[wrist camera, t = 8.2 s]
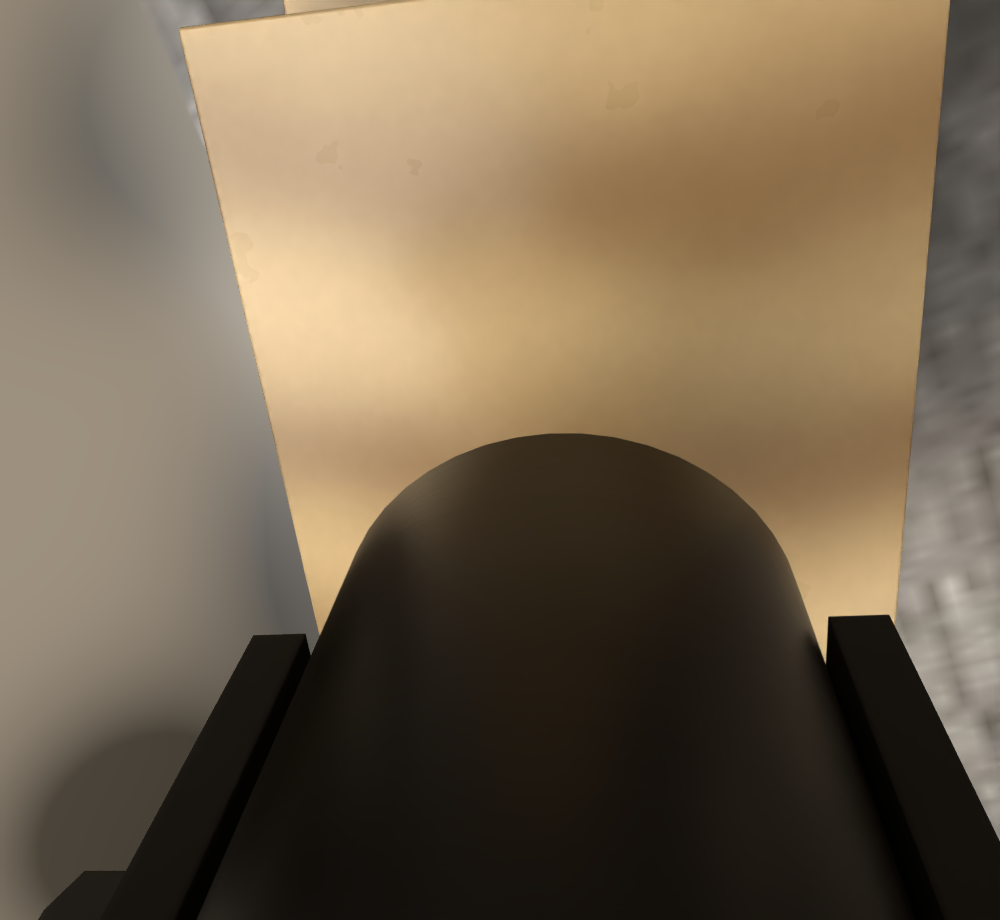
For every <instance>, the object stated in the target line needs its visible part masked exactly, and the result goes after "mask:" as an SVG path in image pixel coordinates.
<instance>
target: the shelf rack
mask: <svg viewBox="0 0 1000 920" xmlns="http://www.w3.org/2000/svg"><path fill="white" fill-rule="evenodd" d="M283 2H284V7H285V13H286V14H285V15H277V16H269V17H261V18H253V19H245V20H237V21H229V22H221V23H213V24H205V25H197V26H189V27H181V28H180V29H179V34H180V38H181V43H182V47H183V51H184V55H185V60H186V64H187V68H188V73H189V77H190V81H191V86H192V90H193V94H194V98H195V103H196V107H197V111H198V116H199V120H200V124H201V128H202V133H203V137H204V141H205V146H206V150H207V154H208V158H209V163H210V167H211V171H212V176H213V180H214V184H215V188H216V193H217V197H218V201H219V206H220V210H221V214H222V218H223V223H224V227H225V231H226V236H227V240H228V244H229V249H230V253H231V257H232V261H233V265H234V270H235V274H236V279H237V283H238V287H239V292H240V296H241V300H242V304H243V309H244V313H245V317H246V321H247V326H248V330H249V335H250V339H251V343H252V347H253V351H254V356H255V360H256V365H257V368H258V373H259V377H260V381H261V386H262V390H263V395H264V399H265V403H266V407H267V412H268V416H269V420H270V425H271V429H272V433H273V438H274V442H275V446H276V450H277V455H278V459H279V463H280V468H281V472H282V476H283V480H284V485H285V489H286V493H287V498H288V502H289V506H290V511H291V515H292V519H293V523H294V527H295V532H296V536H297V540H298V545H299V549H300V553H301V557H302V562H303V566H304V571H305V575H306V579H307V583H308V587H309V592H310V596H311V601H312V605H313V609H314V614H315V618H316V622H317V626H318V631H319V635H320V634H321V632H322V630H323V627H324V625H325V623H326V620H327V618H328V616H329V613H330V611H331V609H332V607H333V604H334V602H335V600H336V597H337V595H338V593H339V590H340V588H341V586H342V584H343V581H344V579H345V577H346V574H347V572H348V570H349V567H350V565H351V563H352V561H353V558H354V556H355V554H356V551H357V550H358V548H359V546H360V544H361V542H362V540H363V539H364V537H365V535H366V533H367V531H368V529H369V528H370V527H371V525H372V524H373V523H374V521H375V520H376V519H377V517H378V516H379V515H380V514H381V512H382V511H383V510H384V508H385V507H386V506H387V505H388V504H389V503H390V502H391V501H392V500H393V499H394V498H395V497H396V496H397V495H398V494H399V493H401V492H402V491H403V490H404V489H405V488H406V487H407V486H409V485H410V484H411V483H413V482H414V481H415V480H417V479H418V478H420V477H421V476H422V475H424V474H425V473H426V472H428V471H429V470H431V469H433V468H435V467H437V466H438V465H440V464H442V463H444V462H446V461H448V460H450V459H451V458H453V457H455V456H458V455H460V454H463V453H465V452H468V451H471V450H473V449H476V448H478V447H481V446H484V445H487V444H491V443H495V442H499V441H503V440H507V439H511V438H516V437H523V436H531V435H539V434H548V433H584V434H592V435H601V436H609V437H616V438H620V439H624V440H629V441H633V442H637V443H641V444H645V445H649V446H651V447H654V448H657V449H659V450H662V451H665V452H667V453H670V454H672V455H675V456H678V457H680V458H682V459H684V460H686V461H688V462H689V463H691V464H693V465H695V466H697V467H699V468H701V469H703V470H705V471H706V472H708V473H710V474H711V475H712V476H714V477H715V478H717V479H718V480H719V481H721V482H722V483H724V484H725V485H726V486H728V487H729V488H731V489H732V490H733V491H734V492H736V493H737V494H738V495H739V496H740V497H741V498H742V499H743V500H744V501H745V502H746V503H747V504H748V505H749V506H750V507H751V508H753V509H754V510H755V511H756V513H757V514H758V515H759V516H760V518H761V519H762V520H763V521H764V523H765V524H766V525H767V526H768V528H769V529H770V530H771V531H772V533H773V534H774V536H775V537H776V539H777V541H778V543H779V544H780V546H781V548H782V550H783V551H784V553H785V555H786V557H787V558H788V561H789V564H790V566H791V569H792V571H793V574H794V577H795V579H796V582H797V585H798V587H799V590H800V593H801V596H802V599H803V602H804V604H805V607H806V610H807V613H808V616H809V618H810V621H811V624H812V627H813V630H814V633H815V635H816V638H817V641H818V644H819V647H820V649H821V652H822V655H823V658H824V661H825V664H826V650H827V631H828V616H858V615H890V617H891V619H892V621H893V623H894V625H895V622H896V611H897V600H898V588H899V577H900V566H901V554H902V543H903V532H904V520H905V509H906V497H907V486H908V475H909V463H910V452H911V441H912V429H913V418H914V407H915V395H916V384H917V372H918V361H919V350H920V338H921V327H922V316H923V304H924V293H925V282H926V270H927V259H928V247H929V236H930V225H931V213H932V202H933V191H934V179H935V168H936V157H937V145H938V134H939V122H940V111H941V100H942V88H943V77H944V66H945V54H946V43H947V32H948V20H949V9H950V0H283Z"/></svg>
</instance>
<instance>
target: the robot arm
mask: <svg viewBox="0 0 1000 920" xmlns="http://www.w3.org/2000/svg"><path fill="white" fill-rule="evenodd" d="M310 657H311V655H310V651H309V647H308V643H307V639H306V634H283V635H254V636H253V637H252V639H251V641H250V643H249V644H248V646H247V648H246V650H245V652H244V654H243V656H242V658H241V659H240V661H239V663H238V665H237V667H236V669H235V671H234V672H233V674H232V676H231V678H230V680H229V682H228V683H227V685H226V687H225V689H224V691H223V693H222V695H221V696H220V698H219V700H218V702H217V704H216V705H215V707H214V709H213V711H212V713H211V715H210V717H209V718H208V720H207V722H206V724H205V726H204V728H203V730H202V731H201V733H200V735H199V737H198V739H197V741H196V743H195V744H194V746H193V748H192V750H191V752H190V754H189V756H188V757H187V759H186V761H185V763H184V765H183V767H182V768H181V770H180V772H179V774H178V776H177V778H176V779H175V782H174V783H173V785H172V787H171V789H170V791H169V793H168V794H167V796H166V798H165V800H164V802H163V804H162V806H161V807H160V809H159V811H158V813H157V815H156V816H155V818H154V820H153V822H152V824H151V826H150V828H149V829H148V831H147V833H146V835H145V837H144V839H143V840H142V843H141V844H140V846H139V848H138V850H137V852H136V854H135V856H134V857H133V859H132V861H131V863H130V865H129V867H128V868H127V870H126V871H84V872H83V873H82V874H81V875H80V876H79V877H78V878H77V879H76V880H75V881H74V882H73V883H72V884H71V885H70V886H69V887H67V888H66V889H65V890H64V891H63V892H62V893H61V894H60V895H59V896H58V897H57V898H56V899H55V900H54V901H53V902H52V903H51V904H50V905H49V906H48V907H47V908H46V909H45V910H44V911H43V913H42V914H41V916H40V918H39V919H38V920H196V919H197V917H198V915H199V912H200V910H201V908H202V905H203V903H204V901H205V898H206V896H207V894H208V892H209V889H210V887H211V885H212V882H213V880H214V878H215V875H216V873H217V871H218V869H219V866H220V864H221V862H222V859H223V857H224V855H225V853H226V850H227V848H228V846H229V843H230V841H231V839H232V836H233V834H234V832H235V830H236V827H237V825H238V823H239V820H240V818H241V816H242V813H243V811H244V809H245V807H246V804H247V802H248V800H249V797H250V795H251V793H252V790H253V788H254V786H255V784H256V781H257V779H258V777H259V774H260V772H261V770H262V767H263V765H264V763H265V761H266V758H267V756H268V754H269V751H270V749H271V747H272V744H273V742H274V740H275V738H276V735H277V733H278V731H279V728H280V726H281V724H282V721H283V719H284V717H285V715H286V712H287V710H288V708H289V705H290V703H291V701H292V698H293V696H294V694H295V692H296V689H297V687H298V685H299V682H300V680H301V678H302V675H303V673H304V671H305V669H306V666H307V664H308V662H309V659H310ZM826 666H827V669H828V672H829V675H830V678H831V680H832V683H833V686H834V689H835V692H836V695H837V697H838V700H839V703H840V706H841V709H842V711H843V714H844V717H845V720H846V723H847V726H848V728H849V731H850V734H851V737H852V740H853V742H854V745H855V748H856V751H857V754H858V757H859V759H860V762H861V765H862V768H863V771H864V773H865V776H866V779H867V782H868V785H869V788H870V790H871V793H872V796H873V799H874V802H875V804H876V807H877V810H878V813H879V816H880V819H881V821H882V824H883V827H884V830H885V833H886V835H887V838H888V841H889V844H890V847H891V850H892V852H893V855H894V858H895V861H896V864H897V866H898V869H899V872H900V875H901V878H902V880H903V883H904V886H905V889H906V892H907V895H908V897H909V900H910V903H911V906H912V909H913V911H914V914H915V917H916V920H1000V841H999V839H998V837H997V835H996V833H995V831H994V829H993V827H992V824H991V822H990V820H989V818H988V816H987V814H986V812H985V810H984V808H983V806H982V804H981V802H980V800H979V798H978V796H977V794H976V792H975V790H974V788H973V786H972V783H971V781H970V779H969V777H968V775H967V773H966V771H965V769H964V767H963V765H962V763H961V761H960V759H959V757H958V755H957V753H956V751H955V749H954V747H953V744H952V742H951V740H950V738H949V736H948V734H947V732H946V730H945V728H944V726H943V724H942V722H941V720H940V718H939V716H938V714H937V712H936V710H935V708H934V705H933V703H932V701H931V699H930V697H929V695H928V693H927V691H926V689H925V687H924V685H923V683H922V681H921V679H920V677H919V675H918V673H917V671H916V669H915V667H914V664H913V662H912V660H911V658H910V656H909V654H908V652H907V650H906V648H905V646H904V644H903V642H902V640H901V638H900V636H899V634H898V632H897V630H896V628H895V625H894V623H893V621H892V619H891V617H890V615H858V616H828V631H827V650H826Z"/></svg>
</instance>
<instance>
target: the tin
mask: <svg viewBox="0 0 1000 920" xmlns="http://www.w3.org/2000/svg"><path fill="white" fill-rule="evenodd" d="M196 920H916V917H915V914H914V911H913V909H912V906H911V903H910V900H909V897H908V895H907V892H906V889H905V886H904V883H903V880H902V878H901V875H900V872H899V869H898V866H897V864H896V861H895V858H894V855H893V852H892V850H891V847H890V844H889V841H888V838H887V835H886V833H885V830H884V827H883V824H882V821H881V819H880V816H879V813H878V810H877V807H876V804H875V802H874V799H873V796H872V793H871V790H870V788H869V785H868V782H867V779H866V776H865V773H864V771H863V768H862V765H861V762H860V759H859V757H858V754H857V751H856V748H855V745H854V742H853V740H852V737H851V734H850V731H849V728H848V726H847V723H846V720H845V717H844V714H843V711H842V709H841V706H840V703H839V700H838V697H837V695H836V692H835V689H834V686H833V683H832V680H831V678H830V675H829V672H828V669H827V666H826V664H825V661H824V658H823V655H822V652H821V649H820V647H819V644H818V641H817V638H816V635H815V633H814V630H813V627H812V624H811V621H810V618H809V616H808V613H807V610H806V607H805V604H804V602H803V599H802V596H801V593H800V590H799V587H798V585H797V582H796V579H795V577H794V574H793V571H792V569H791V566H790V564H789V561H788V558H787V557H786V555H785V553H784V551H783V550H782V548H781V546H780V544H779V543H778V541H777V539H776V537H775V536H774V534H773V533H772V531H771V530H770V529H769V528H768V526H767V525H766V524H765V523H764V521H763V520H762V519H761V518H760V516H759V515H758V514H757V513H756V511H755V510H754V509H753V508H751V507H750V506H749V505H748V504H747V503H746V502H745V501H744V500H743V499H742V498H741V497H740V496H739V495H738V494H737V493H736V492H734V491H733V490H732V489H731V488H729V487H728V486H726V485H725V484H724V483H722V482H721V481H719V480H718V479H717V478H715V477H714V476H712V475H711V474H710V473H708V472H706V471H705V470H703V469H701V468H699V467H697V466H695V465H693V464H691V463H689V462H688V461H686V460H684V459H682V458H680V457H678V456H675V455H672V454H670V453H667V452H665V451H662V450H659V449H657V448H654V447H651V446H649V445H645V444H641V443H637V442H633V441H629V440H624V439H620V438H616V437H609V436H601V435H592V434H584V433H548V434H539V435H531V436H523V437H516V438H511V439H507V440H503V441H499V442H495V443H491V444H487V445H484V446H481V447H478V448H476V449H473V450H471V451H468V452H465V453H463V454H460V455H458V456H455V457H453V458H451V459H450V460H448V461H446V462H444V463H442V464H440V465H438V466H437V467H435V468H433V469H431V470H429V471H428V472H426V473H425V474H424V475H422V476H421V477H420V478H418V479H417V480H415V481H414V482H413V483H411V484H410V485H409V486H407V487H406V488H405V489H404V490H403V491H402V492H401V493H399V494H398V495H397V496H396V497H395V498H394V499H393V500H392V501H391V502H390V503H389V504H388V505H387V506H386V507H385V508H384V510H383V511H382V512H381V514H380V515H379V516H378V517H377V519H376V520H375V521H374V523H373V524H372V525H371V527H370V528H369V529H368V531H367V533H366V535H365V537H364V539H363V540H362V542H361V544H360V546H359V548H358V550H357V551H356V554H355V556H354V558H353V561H352V563H351V565H350V567H349V570H348V572H347V574H346V577H345V579H344V581H343V584H342V586H341V588H340V590H339V593H338V595H337V597H336V600H335V602H334V604H333V607H332V609H331V611H330V613H329V616H328V618H327V620H326V623H325V625H324V627H323V630H322V632H321V634H320V636H319V639H318V641H317V643H316V646H315V648H314V650H313V652H312V655H311V657H310V659H309V662H308V664H307V666H306V669H305V671H304V673H303V675H302V678H301V680H300V682H299V685H298V687H297V689H296V692H295V694H294V696H293V698H292V701H291V703H290V705H289V708H288V710H287V712H286V715H285V717H284V719H283V721H282V724H281V726H280V728H279V731H278V733H277V735H276V738H275V740H274V742H273V744H272V747H271V749H270V751H269V754H268V756H267V758H266V761H265V763H264V765H263V767H262V770H261V772H260V774H259V777H258V779H257V781H256V784H255V786H254V788H253V790H252V793H251V795H250V797H249V800H248V802H247V804H246V807H245V809H244V811H243V813H242V816H241V818H240V820H239V823H238V825H237V827H236V830H235V832H234V834H233V836H232V839H231V841H230V843H229V846H228V848H227V850H226V853H225V855H224V857H223V859H222V862H221V864H220V866H219V869H218V871H217V873H216V875H215V878H214V880H213V882H212V885H211V887H210V889H209V892H208V894H207V896H206V898H205V901H204V903H203V905H202V908H201V910H200V912H199V915H198V917H197V919H196Z"/></svg>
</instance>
